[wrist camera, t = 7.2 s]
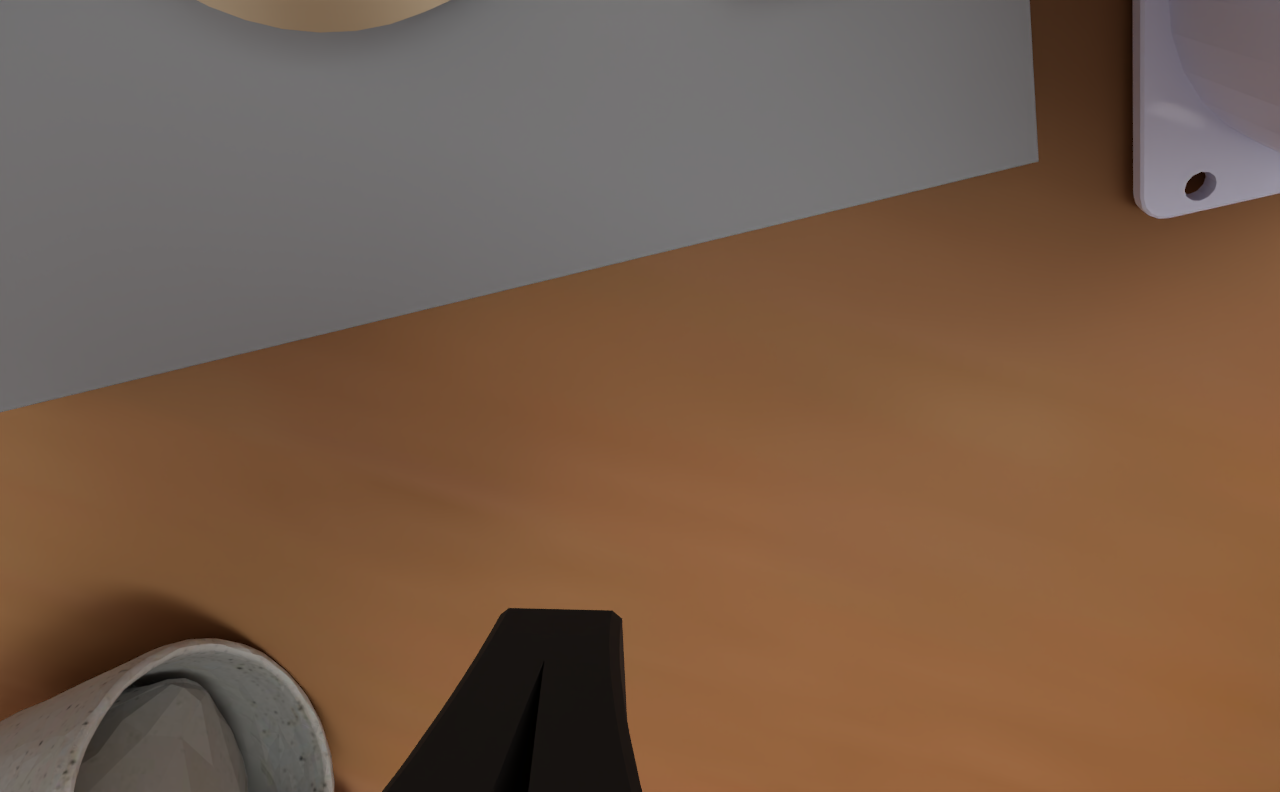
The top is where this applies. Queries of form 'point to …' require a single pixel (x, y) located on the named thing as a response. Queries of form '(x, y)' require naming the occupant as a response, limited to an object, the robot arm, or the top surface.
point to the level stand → (444, 155)
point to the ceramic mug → (172, 728)
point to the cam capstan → (324, 12)
